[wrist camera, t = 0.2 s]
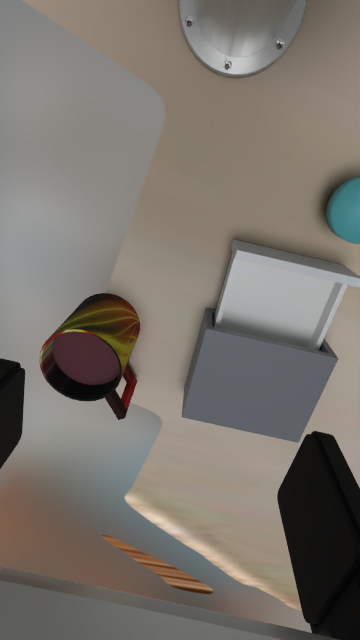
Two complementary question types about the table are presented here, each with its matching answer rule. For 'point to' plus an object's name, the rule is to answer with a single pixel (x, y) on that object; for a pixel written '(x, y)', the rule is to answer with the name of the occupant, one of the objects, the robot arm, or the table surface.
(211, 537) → the table surface
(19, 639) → the robot arm
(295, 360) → the housing
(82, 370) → the mug
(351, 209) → the disc
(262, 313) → the grey drawer
